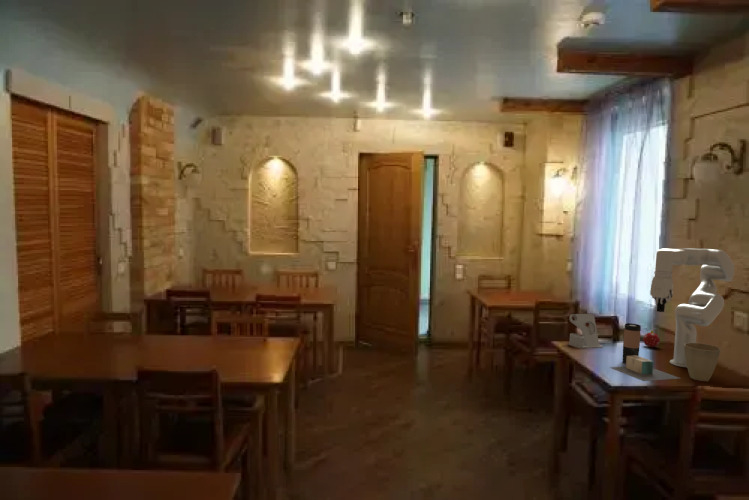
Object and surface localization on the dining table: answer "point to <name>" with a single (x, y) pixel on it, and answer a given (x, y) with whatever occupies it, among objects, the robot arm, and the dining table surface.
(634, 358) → the maple block
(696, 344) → the plant pot
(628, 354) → the travel mug
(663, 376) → the rubber mat
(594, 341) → the phone holder
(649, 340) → the christmas ornament
